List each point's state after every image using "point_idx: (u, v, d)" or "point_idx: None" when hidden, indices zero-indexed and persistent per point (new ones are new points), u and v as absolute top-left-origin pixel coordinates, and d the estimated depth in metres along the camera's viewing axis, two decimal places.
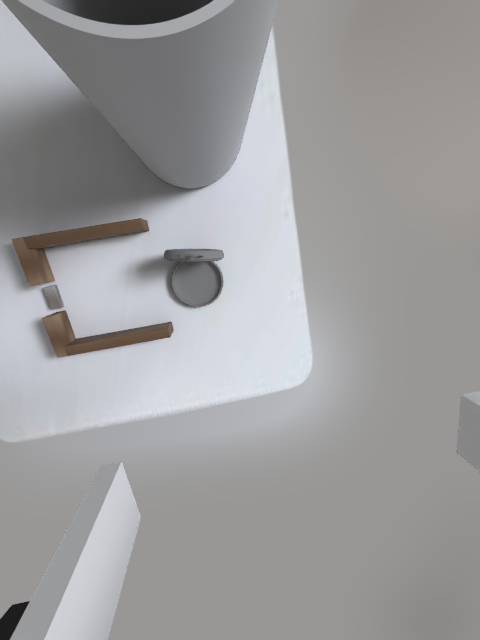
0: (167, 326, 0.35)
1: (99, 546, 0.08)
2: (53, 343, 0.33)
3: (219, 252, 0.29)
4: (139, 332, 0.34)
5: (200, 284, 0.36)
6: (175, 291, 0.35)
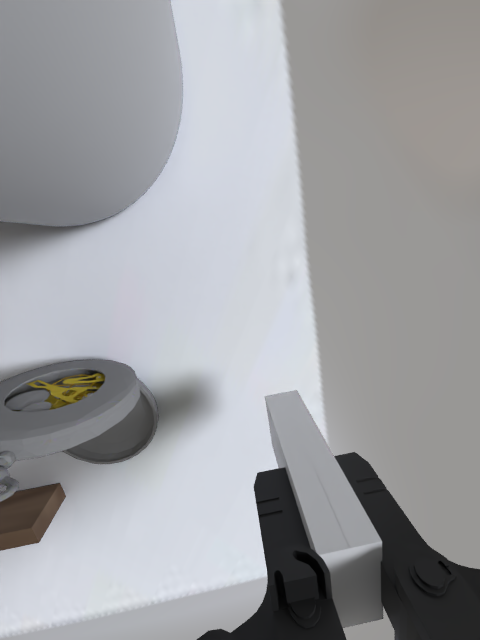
0: (38, 512, 0.16)
1: None
2: None
3: (112, 411, 0.11)
4: None
5: None
6: None
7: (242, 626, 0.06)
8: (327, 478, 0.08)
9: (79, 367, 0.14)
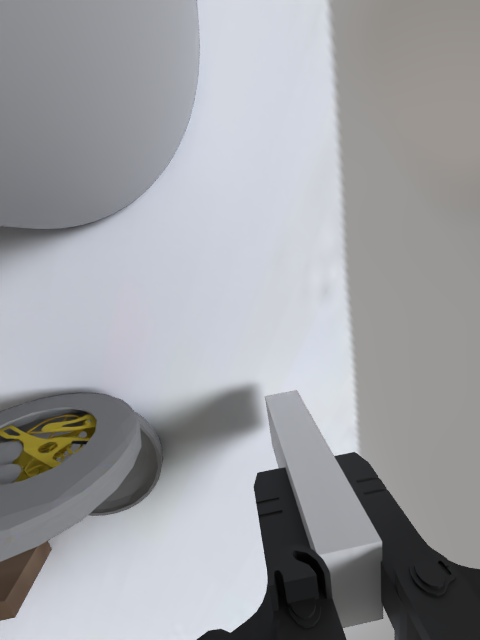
0: (15, 577, 0.13)
1: None
2: None
3: (103, 480, 0.08)
4: None
5: None
6: None
7: (242, 626, 0.06)
8: (327, 478, 0.08)
9: (65, 406, 0.11)
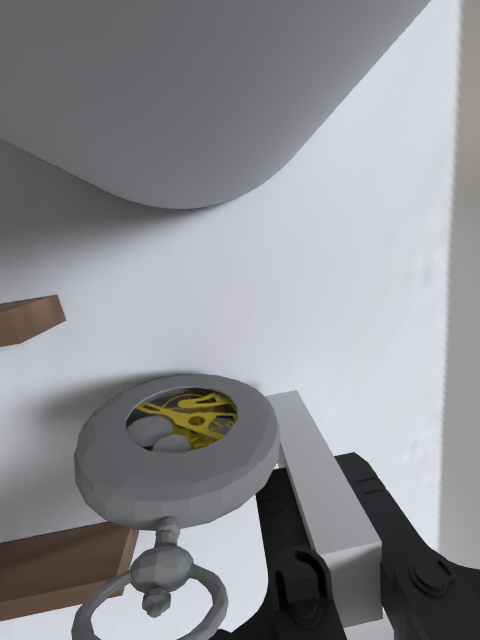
0: (118, 556, 0.14)
1: None
2: None
3: (273, 449, 0.08)
4: (41, 582, 0.13)
5: None
6: None
7: (242, 626, 0.06)
8: (327, 478, 0.08)
9: (188, 385, 0.11)
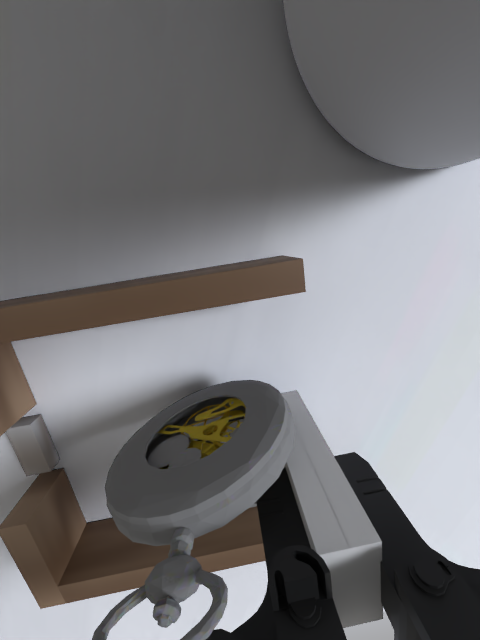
0: None
1: None
2: (30, 581, 0.12)
3: (280, 439, 0.08)
4: (250, 535, 0.14)
5: None
6: None
7: (242, 626, 0.06)
8: (327, 478, 0.08)
9: (204, 398, 0.11)
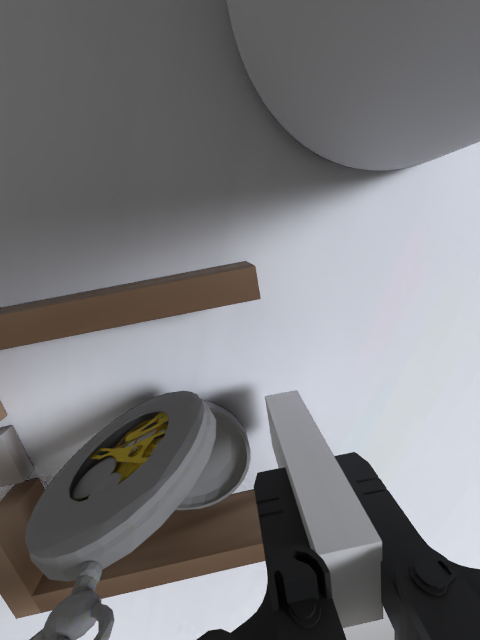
0: None
1: None
2: (3, 591, 0.12)
3: (192, 455, 0.08)
4: (223, 541, 0.14)
5: None
6: None
7: (242, 626, 0.06)
8: (327, 478, 0.08)
9: (136, 415, 0.11)
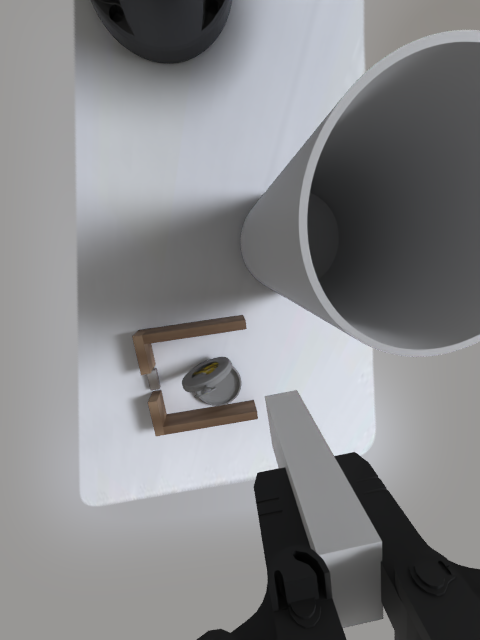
0: (254, 407, 0.38)
1: None
2: (154, 424, 0.36)
3: (227, 368, 0.32)
4: (230, 413, 0.38)
5: (221, 383, 0.39)
6: (203, 399, 0.39)
7: (242, 626, 0.06)
8: (327, 478, 0.08)
9: (205, 363, 0.36)
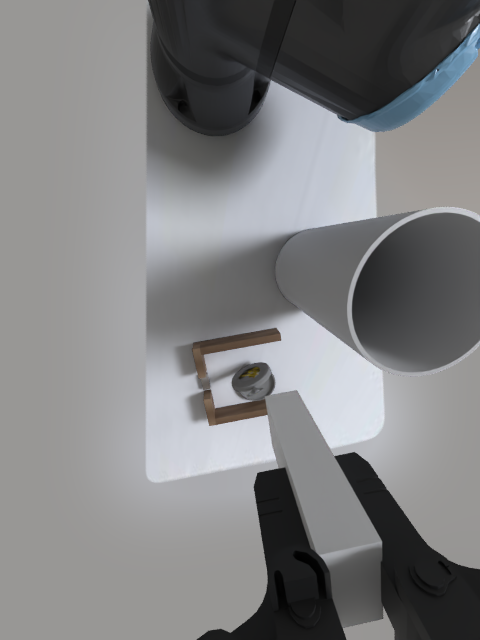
0: None
1: None
2: (208, 416, 0.46)
3: (268, 372, 0.41)
4: None
5: None
6: (244, 396, 0.48)
7: (242, 626, 0.06)
8: (327, 478, 0.08)
9: (248, 368, 0.45)
